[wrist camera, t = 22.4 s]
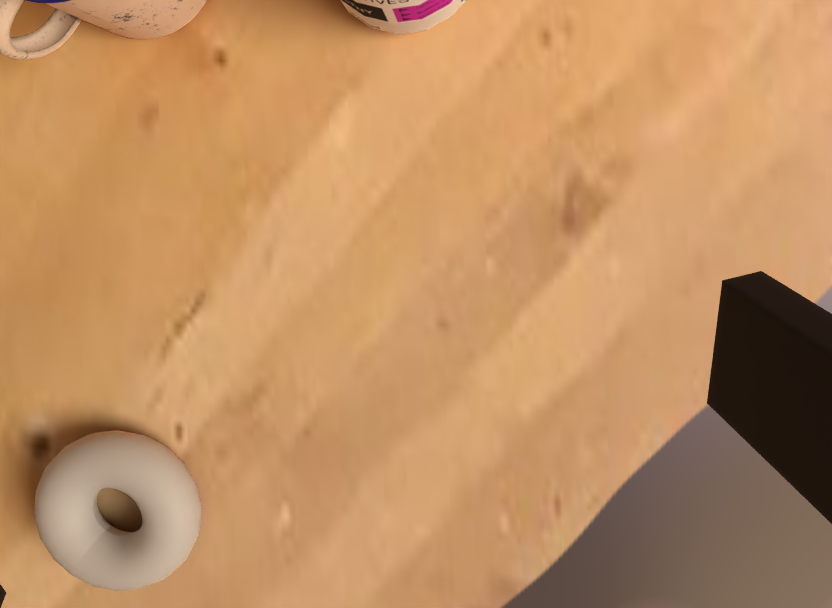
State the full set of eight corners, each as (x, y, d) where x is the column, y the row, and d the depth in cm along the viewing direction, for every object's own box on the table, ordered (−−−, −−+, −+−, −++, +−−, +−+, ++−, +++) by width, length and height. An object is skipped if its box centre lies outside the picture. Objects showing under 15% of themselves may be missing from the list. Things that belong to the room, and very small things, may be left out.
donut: (228, 451, 39) (73, 400, 39) (207, 477, 36) (37, 420, 36) (189, 588, 41) (42, 539, 41) (166, 625, 38) (5, 572, 38)
